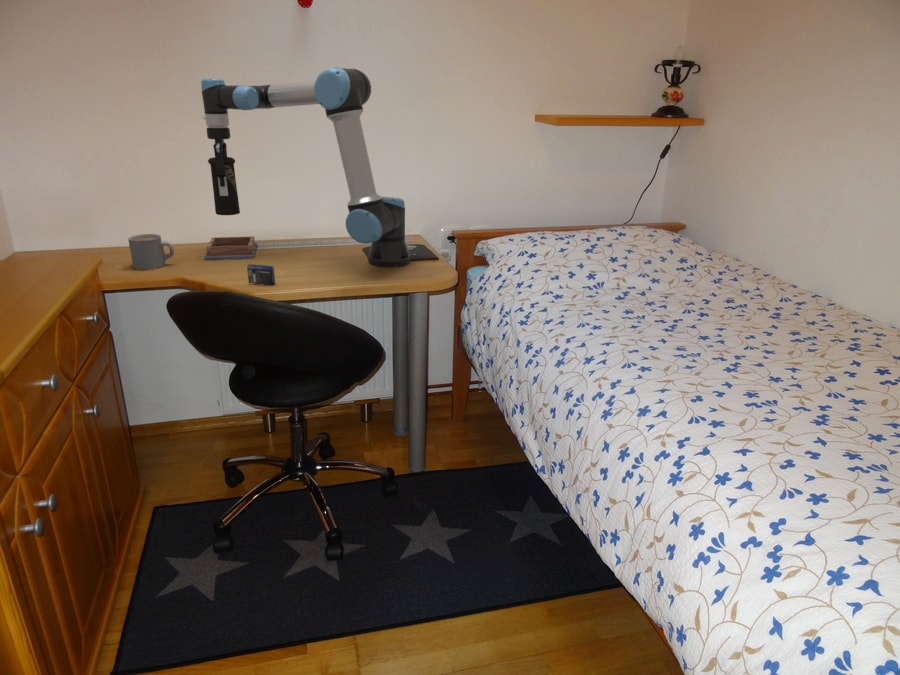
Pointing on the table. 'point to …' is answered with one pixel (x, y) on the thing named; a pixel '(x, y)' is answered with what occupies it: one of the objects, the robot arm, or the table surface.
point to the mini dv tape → (261, 274)
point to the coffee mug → (148, 251)
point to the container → (230, 202)
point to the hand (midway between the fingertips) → (225, 193)
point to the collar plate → (231, 248)
